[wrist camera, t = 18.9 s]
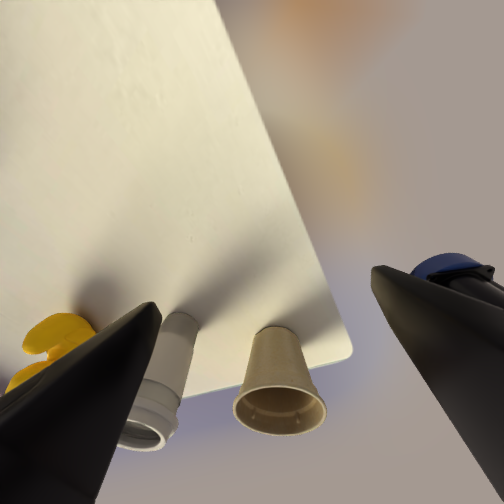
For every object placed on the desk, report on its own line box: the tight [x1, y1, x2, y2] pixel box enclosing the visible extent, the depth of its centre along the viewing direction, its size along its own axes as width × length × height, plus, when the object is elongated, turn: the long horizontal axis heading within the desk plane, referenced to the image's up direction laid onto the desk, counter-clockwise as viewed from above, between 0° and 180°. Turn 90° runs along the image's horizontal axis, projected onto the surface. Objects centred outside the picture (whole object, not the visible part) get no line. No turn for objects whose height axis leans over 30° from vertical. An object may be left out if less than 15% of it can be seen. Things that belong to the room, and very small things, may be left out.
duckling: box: [5, 313, 96, 394], centre depth 25 cm, size 11×5×10 cm, turn 177°
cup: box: [117, 313, 198, 451], centre depth 23 cm, size 7×7×12 cm
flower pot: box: [233, 327, 327, 436], centre depth 25 cm, size 9×9×9 cm
